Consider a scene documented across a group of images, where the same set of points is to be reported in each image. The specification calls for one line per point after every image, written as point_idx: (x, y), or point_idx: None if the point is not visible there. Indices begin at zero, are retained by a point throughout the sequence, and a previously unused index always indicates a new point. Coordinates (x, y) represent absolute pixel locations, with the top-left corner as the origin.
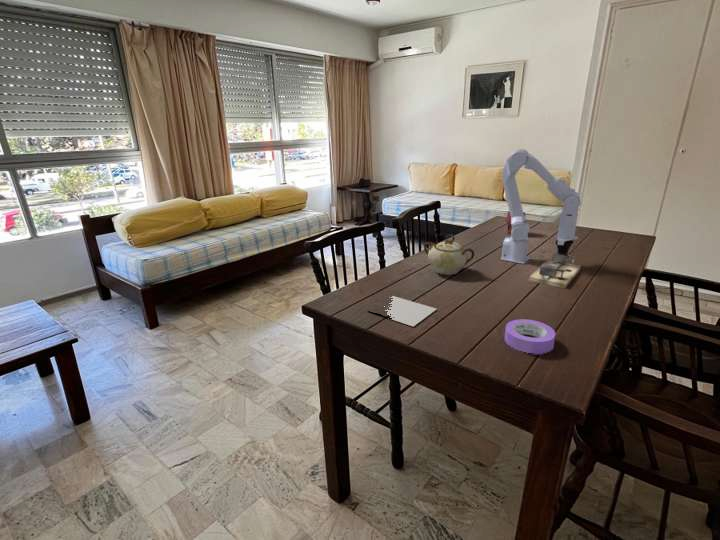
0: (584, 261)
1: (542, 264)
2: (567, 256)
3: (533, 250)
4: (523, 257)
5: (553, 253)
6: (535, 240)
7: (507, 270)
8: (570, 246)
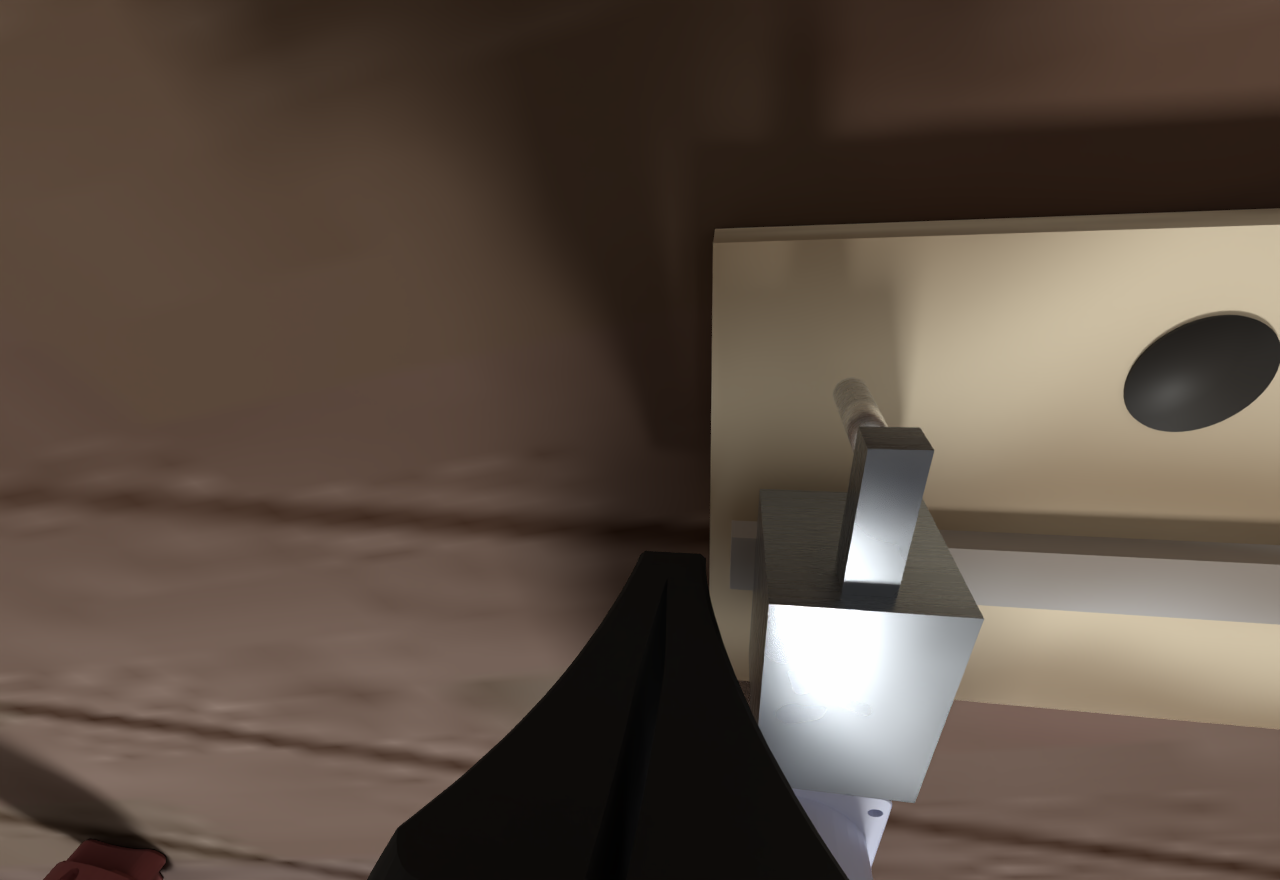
0: (248, 271)
1: (965, 700)
2: (907, 593)
3: (377, 754)
4: (840, 858)
5: (889, 797)
6: (111, 761)
7: (1188, 858)
8: (509, 736)
